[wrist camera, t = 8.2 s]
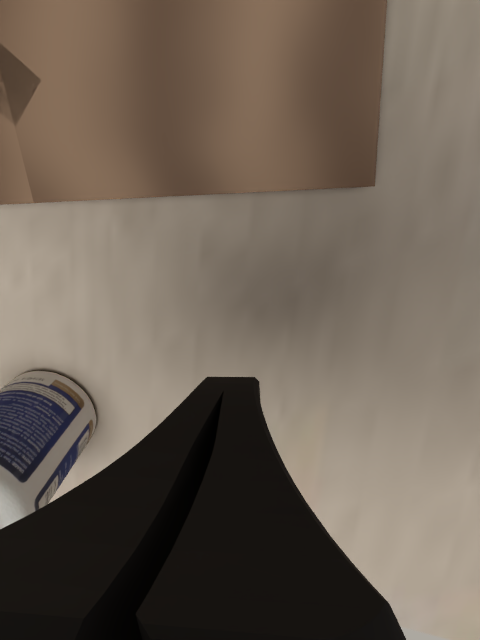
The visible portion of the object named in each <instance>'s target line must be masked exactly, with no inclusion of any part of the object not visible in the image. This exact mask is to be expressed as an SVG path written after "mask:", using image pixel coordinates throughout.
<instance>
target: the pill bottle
mask: <svg viewBox="0 0 480 640" xmlns="http://www.w3.org/2000/svg"><path fill="white" fill-rule="evenodd" d="M95 426H96V414H95V410H94V407H93V405H92V402H91V400H90V399H89V397H88V396H87V394H86V393H85V392H84V391H83V390H82V389H81V388H80V387H79V386H78V385H77V384H75V383H74V382H73V381H71V380H70V379H68V378H66V377H64V376H61V375H59V374H57V373H53V372H47V371H32V372H27V373H24V374H21V375H19V376H17V377H16V378H14V379H13V380H12V381H10V382H9V383H8V384H7V385H6V386H4V387H3V388H2V389H1V390H0V529H2V528H4V527H6V526H8V525H10V524H12V523H14V522H16V521H18V520H20V519H22V518H23V517H25V516H27V515H29V514H31V513H33V512H35V511H36V510H38V509H40V508H42V507H44V506H46V505H47V504H48V503H49V501H50V500H51V498H52V497H53V495H54V494H55V492H56V491H57V489H58V488H59V486H60V485H61V483H62V481H63V480H64V478H65V477H66V475H67V474H68V472H69V471H70V469H71V468H72V466H73V465H74V463H75V462H76V460H77V459H78V457H79V456H80V454H81V453H82V451H83V450H84V448H85V446H86V445H87V443H88V442H89V440H90V438H91V436H92V435H93V432H94V430H95Z"/></svg>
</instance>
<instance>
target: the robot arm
mask: <svg viewBox="0 0 480 640" xmlns="http://www.w3.org/2000/svg"><path fill="white" fill-rule="evenodd" d="M0 640H406V638H405V636H404V634H403V632H402V630H401V627H400V625H399V623H398V621H397V619H396V617H395V615H394V613H393V611H392V608H391V606H390V604H389V603H388V602H387V601H386V600H385V599H384V597H383V596H382V595H381V594H380V593H379V592H378V591H377V590H376V589H375V588H374V587H373V586H372V585H371V583H370V582H369V581H368V580H367V579H366V578H365V577H364V576H363V575H362V573H361V572H360V571H359V570H358V569H357V568H356V567H355V565H354V564H353V563H352V562H351V561H350V560H349V558H348V557H347V556H346V555H345V553H344V552H343V551H342V550H341V549H340V547H339V546H338V545H337V544H336V542H335V541H334V540H333V539H332V537H331V536H330V535H329V533H328V532H327V531H326V529H325V528H324V526H323V525H322V524H321V522H320V521H319V519H318V518H317V517H316V515H315V514H314V512H313V511H312V510H311V508H310V507H309V505H308V504H307V503H306V501H305V499H304V498H303V496H302V495H301V493H300V491H299V490H298V488H297V487H296V485H295V483H294V482H293V480H292V478H291V476H290V474H289V473H288V471H287V469H286V467H285V465H284V463H283V461H282V459H281V457H280V455H279V453H278V451H277V449H276V446H275V444H274V442H273V440H272V437H271V435H270V432H269V430H268V427H267V424H266V421H265V418H264V415H263V412H262V408H261V404H260V388H259V381H258V380H257V379H256V378H255V377H207V378H205V379H204V380H203V381H202V382H201V383H200V384H199V385H198V386H197V387H196V388H195V389H194V391H193V392H192V393H191V394H190V395H189V396H188V397H187V398H186V399H185V400H184V401H183V402H182V403H181V404H180V405H179V406H178V407H177V408H176V409H175V410H174V411H173V412H172V413H171V414H170V415H169V416H168V417H167V418H166V419H165V420H164V421H163V422H162V423H161V424H159V425H158V426H157V427H156V428H155V429H154V430H153V431H152V432H150V433H149V434H148V435H147V436H146V437H145V438H144V439H142V440H141V441H140V442H139V443H138V444H137V445H135V446H134V447H133V448H132V449H130V450H129V451H128V452H127V453H125V454H124V455H123V456H121V457H120V458H119V459H117V460H116V461H115V462H113V463H112V464H110V465H109V466H108V467H106V468H105V469H103V470H102V471H101V472H99V473H98V474H96V475H95V476H93V477H92V478H90V479H88V480H87V481H85V482H84V483H82V484H80V485H79V486H77V487H75V488H74V489H72V490H71V491H69V492H67V493H66V494H64V495H63V496H61V497H59V498H58V499H56V500H54V501H53V502H51V503H49V504H47V505H46V506H44V507H42V508H40V509H38V510H36V511H35V512H33V513H31V514H29V515H27V516H25V517H23V518H22V519H20V520H18V521H16V522H14V523H12V524H10V525H8V526H6V527H4V528H2V529H0Z"/></svg>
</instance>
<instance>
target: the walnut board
mask: <svg viewBox="0 0 480 640" xmlns="http://www.w3.org/2000/svg"><path fill="white" fill-rule="evenodd" d="M386 8H387V0H0V205H1V204H21V203H42V202H62V201H82V200H103V199H123V198H144V197H164V196H184V195H205V194H225V193H246V192H266V191H286V190H307V189H327V188H348V187H368V186H375V173H376V158H377V143H378V128H379V113H380V98H381V83H382V68H383V53H384V38H385V23H386Z"/></svg>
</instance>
